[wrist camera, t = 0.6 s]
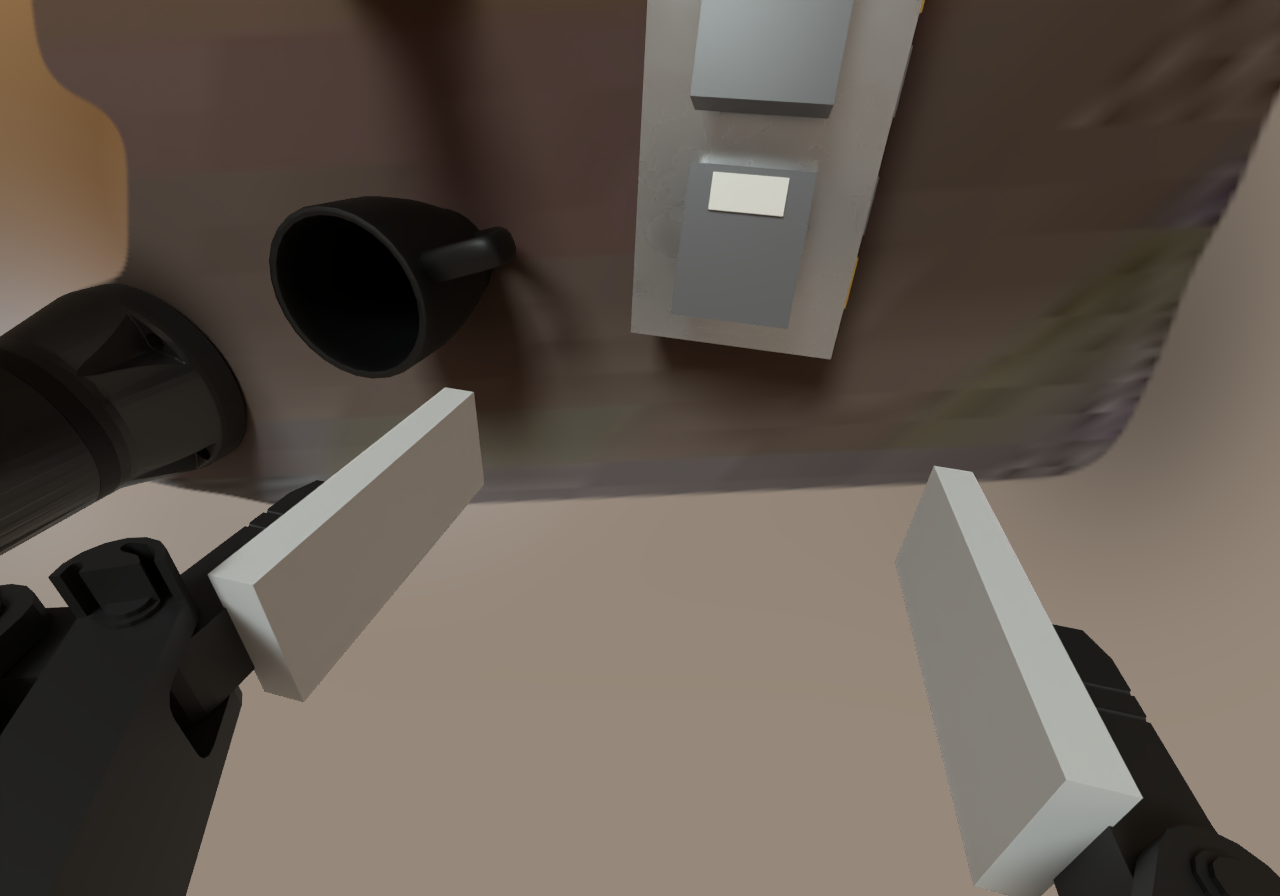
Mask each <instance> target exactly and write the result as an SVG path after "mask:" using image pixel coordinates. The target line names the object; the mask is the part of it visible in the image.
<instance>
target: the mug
mask: <svg viewBox="0 0 1280 896" xmlns="http://www.w3.org/2000/svg"><path fill="white" fill-rule="evenodd" d="M515 257H516V246H515V242H514V240H513V238H512V236H511V234H510V233H509V231H508V230H507V229H505V228H502V227H494V228H489V229H486V230H482V231H479V230H478V229H477V227H476V226H475V225H474V224H473V223H472V222H470V221H469V220H468V219H467V218H466V217H464V216H462V215H461V214H459V213H457V212H455V211H452V210H449V209H443V208H440V207H436V206H433V205H430V204H427V203H423V202H419V201H414V200H409V199H400V198H391V197H381V196H364V197H358V198H352V199H346V200H340V201H334V202H329V203H323V204H318V205H313V206H307V207H303V208H301V209H299V210H298V211H296V212H294V213H292V214H290V215H289V216H288V217H287V218H286V219H285V220H284V222H283V223H282V224H281V225H280V226H279V227H278V229H277V231H276V233H275V236H274V238H273V240H272V243H271V250H270V258H269V264H270V275H271V281H272V285H273V288H274V292H275V295H276V298H277V300H278V302H279V305H280V307H281V309H282V311H283V313H284V315H285V317H286V318H287V320H288V321H289V323H290V324H291V326H292V327H293V329H294V330H295V332H296V333H297V334H298V335H299V336H300V338H301V339H302V340H303V341H304V342H305V343H306V344H307V345H308V346H309V348H311V349H312V350H313V351H314V352H315V353H317V354H318V355H319V356H320V357H321V358H323V359H324V360H325V361H327V362H329V363H330V364H332V365H334V366H335V367H337V368H339V369H340V370H343V371H346V372H348V373H351V374H353V375H356V376H361V377H367V378H386V377H391V376H394V375H397V374H400V373H403V372H404V371H406V370H407V369H409V368H411V367H412V366H414V365H415V364H417V363H418V362H420V361H421V360H423V359H424V358H426V357H427V356H428V355H430V354H431V353H433V352H434V351H436V350H437V349H438V348H440V347H441V346H442V345H444V344H445V343H446V342H447V341H448V340H449V339H450V338H451V337H452V336H453V335H454V334H455V333H456V332H457V331H458V330H459V329H460V327H461V326H462V325H463V324H464V322H465V321H466V319H467V318H468V317H469V315H470V314H471V312H472V311H473V309H474V308H475V306H476V305H477V303H478V301H479V299H480V297H481V295H482V293H483V291H484V290H485V288H486V287H487V285H488V282H489V280H490V276H491V269H493V268H497V267H500V266H502V265H505V264H507V263H509V262H511V261H512V260H513V259H514V258H515Z"/></svg>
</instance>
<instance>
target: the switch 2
mask: <svg viewBox="0 0 1280 896" xmlns="http://www.w3.org/2000/svg"><path fill="white" fill-rule="evenodd" d="M816 176H817V172H806V171H794V170H782V169H769V168H757V167H745V166H733V165H721V164H709V163H696V162H690V166H689V174H688V182H687V190H686V198H685V206H684V214H683V221H682V229H681V237H680V245H679V253H678V261H677V269H676V277H675V284H674V292H673V300H672V308H671V314H675V315H682V316H690V317H698V318H706V319H713V320H721V321H729V322H737V323H745V324H752V325H760V326H768V327H776V328H783V329H788V325H789V319H790V314H791V309H792V303H793V298H794V293H795V288H796V282H797V277H798V272H799V266H800V261H801V256H802V251H803V245H804V240H805V235H806V229H807V224H808V219H809V213H810V208H811V203H812V198H813V192H814V187H815V182H816Z"/></svg>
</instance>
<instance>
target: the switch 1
mask: <svg viewBox="0 0 1280 896" xmlns="http://www.w3.org/2000/svg"><path fill="white" fill-rule="evenodd" d="M853 1H854V0H702V2H701V10H700V19H699V27H698V35H697V43H696V51H695V59H694V67H693V75H692V84H691V92H690V97H691V100H692V103H693V106H694V109H695V110H704V111H719V112H734V113H749V114H764V115H779V116H794V117H810V118H825V119H828V118H829V115H830V113H831V110H832V108H833V105H834V101H835V96H836V90H837V85H838V80H839V75H840V69H841V64H842V59H843V54H844V48H845V43H846V38H847V33H848V27H849V22H850V17H851V12H852V6H853Z"/></svg>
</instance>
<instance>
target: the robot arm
mask: <svg viewBox="0 0 1280 896" xmlns="http://www.w3.org/2000/svg"><path fill="white" fill-rule="evenodd" d="M245 425H246V415H245V408H244V403H243V399H242V396H241V393H240V390H239V388H238V385H237V383H236V381H235V379H234V377H233V375H232V373H231V371H230V369H229V368H228V366H227V364H226V363H225V361H224V360H223V358H222V357H221V355H220V354H219V353H218V351H217V350H216V349H215V347H214V346H213V345H212V344H211V343H210V341H209V340H208V339H207V338H206V337H205V336H204V335H203V334H202V333H201V332H200V331H199V330H198V329H197V328H196V327H195V326H194V325H193V324H192V323H191V322H190V321H189V320H188V319H186V318H185V317H184V316H183V315H182V314H180V313H179V312H178V311H176V310H175V309H174V308H172V307H171V306H169V305H168V304H166V303H165V302H163V301H161V300H160V299H158V298H156V297H154V296H152V295H150V294H148V293H146V292H143V291H141V290H138V289H135V288H132V287H128V286H124V285H117V284H104V285H99V286H95V287H91V288H87V289H82V290H78V291H74V292H71V293H68V294H66V295H63V296H61V297H59V298H57V299H56V300H54V301H53V302H51V303H50V304H48V305H47V306H45V307H44V308H42V309H41V310H39V311H38V312H36V313H35V314H33V315H32V316H30V317H29V318H27V319H26V320H24V321H23V322H21V323H20V324H18V325H17V326H15V327H14V328H12V329H11V330H9V331H8V332H6V333H5V334H3V335H2V336H0V555H2V554H4V553H6V552H7V551H9V550H11V549H13V548H15V547H16V546H18V545H20V544H22V543H24V542H25V541H27V540H29V539H31V538H32V537H34V536H36V535H38V534H39V533H41V532H43V531H45V530H47V529H48V528H50V527H52V526H54V525H55V524H57V523H59V522H61V521H62V520H64V519H66V518H68V517H70V516H71V515H73V514H75V513H77V512H79V511H80V510H82V509H84V508H86V507H87V506H89V505H91V504H93V503H94V502H96V501H98V500H100V499H102V498H103V497H105V496H107V495H109V494H111V493H113V492H114V491H116V490H118V489H120V488H123V487H127V486H130V485H135V484H138V483H143V482H147V481H151V480H155V479H159V478H164V477H168V476H172V475H176V474H180V473H184V472H188V471H192V470H196V469H200V468H203V467H205V466H208V465H210V464H212V463H213V462H215V461H217V460H218V459H220V458H222V457H223V456H225V455H227V454H228V453H230V452H232V451H233V450H234V449H235V448H236V447H237V446H238V445H239V444H240V442H241V440H242V438H243V435H244V432H245ZM483 485H484V477H483V468H482V459H481V450H480V442H479V433H478V424H477V415H476V406H475V397H474V392H471V391H465V390H458V389H452V388H446V387H445V388H444V389H442V390H441V391H440V392H439V393H437V394H436V395H435V396H434V397H432V398H431V399H430V400H428V401H427V402H426V403H425V404H423V405H422V406H421V407H420V408H418V409H417V410H416V411H414V412H413V413H412V414H411V415H409V416H408V417H407V418H406V419H404V420H403V421H402V422H401V423H399V424H398V425H397V426H395V427H394V428H393V429H392V430H390V431H389V432H388V433H387V434H385V435H384V436H383V437H381V438H380V439H379V440H378V441H376V442H375V443H374V444H373V445H371V446H370V447H369V448H367V449H366V450H365V451H364V452H362V453H361V454H360V455H359V456H357V457H356V458H355V459H353V460H352V461H351V462H350V463H348V464H347V465H346V466H345V467H343V468H342V469H341V470H339V471H338V472H337V473H336V474H334V475H333V476H332V477H331V478H329V479H328V480H327V481H326V482H324V481H319V480H317V481H314V482H312V483H310V484H308V485H306V486H303V487H301V488H299V489H297V490H295V491H292V492H290V493H289V494H287V495H286V496H285V497H283V498H282V499H281V500H279V501H278V502H277V503H275V504H274V505H273V506H271V507H270V508H269V509H268V511H267V513H262V514H261V515H259V516H258V517H257V518H255V519H254V520H253V521H251V522H250V525H249V526H248V527H246V526H245V527H244V528H242V529H241V530H239V531H238V532H237V533H235V534H234V535H233V536H231V537H230V538H229V539H227V540H226V541H225V542H224V543H222V544H221V545H219V546H218V547H217V548H215V549H214V550H213V551H211V552H210V553H209V554H207V555H206V556H205V557H204V558H202V559H201V560H199V561H198V562H197V563H196V564H194V565H193V566H192V567H190V568H189V569H188V570H186V571H185V572H184V573H182V574H181V575H180V574H179V572H178V570H177V568H176V566H175V564H174V562H173V560H172V559H171V557H170V555H169V553H168V551H167V549H166V548H165V546H164V545H163V544H162V543H161V542H160V541H158V540H154V539H151V538H147V537H143V538H126V539H121V540H117V541H112V542H108V543H104V544H102V545H99V546H97V547H94V548H92V549H89V550H87V551H84V552H82V553H80V554H79V555H77V556H75V557H73V558H72V559H70V560H68V561H67V562H65V563H63V564H62V565H61V566H60V567H59V568H58V569H56V570H55V571H54V573H52V574H51V575H50V576H49V579H50V581H51V582H52V583H53V585H54V586H55V587H56V589H57V591H58V592H59V593H60V595H61V596H62V598H63V599H64V601H65V602H66V603H67V605H68V606H69V607H60V608H45V607H44V606H43V604H42V603H41V601H40V600H39V599H38V597H37V596H36V595H35V593H34V592H33V591H32V590H30V589H29V588H28V587H27V586H22V585H15V584H8V585H0V896H186V893H187V889H188V886H189V882H190V879H191V875H192V872H193V869H194V865H195V862H196V859H197V855H198V852H199V849H200V845H201V842H202V838H203V835H204V832H205V828H206V825H207V821H208V818H209V815H210V811H211V808H212V804H213V801H214V798H215V794H216V791H217V787H218V784H219V780H220V777H221V774H222V770H223V767H224V763H225V760H226V757H227V753H228V750H229V746H230V743H231V739H232V736H233V733H234V729H235V726H236V723H237V719H238V716H239V712H240V709H241V706H242V692H241V690H240V688H239V686H238V685H239V684H240V683H241V682H242V681H243V680H244V679H245V678H246V677H247V676H248V675H249V674H250V673H251V672H252V671H253V670H254V671H255V673H256V675H257V676H258V679H259V681H260V683H261V685H262V687H263V689H264V691H265V692H269V693H272V694H276V695H279V696H283V697H287V698H290V699H294V700H298V701H301V702H304V701H305V700H306V699H307V698H308V696H309V695H310V694H311V693H312V691H313V690H314V689H315V688H316V687H317V685H318V684H319V683H320V682H321V681H322V679H323V678H324V677H325V676H326V674H327V673H328V672H329V671H330V670H331V669H332V667H333V666H334V665H335V664H336V663H337V661H338V660H339V659H340V658H341V656H342V655H343V654H344V653H345V652H346V650H347V649H348V648H349V647H350V646H351V644H352V643H353V642H354V641H355V639H356V638H357V637H358V636H359V635H360V634H361V632H362V631H363V630H364V629H365V628H366V626H367V625H368V624H369V623H370V621H371V620H372V619H373V618H374V617H375V615H376V614H377V613H378V612H379V610H380V609H381V608H382V607H383V606H384V604H385V603H386V602H387V601H388V600H389V599H390V597H391V596H392V595H393V594H394V592H395V591H396V590H397V589H398V588H399V586H400V585H401V584H402V583H403V582H404V580H405V579H406V578H407V577H408V576H409V574H410V573H411V572H412V571H413V570H414V568H415V567H416V566H417V565H418V564H419V562H420V561H421V560H422V559H423V557H424V556H425V555H426V554H427V553H428V551H429V550H430V549H431V548H432V547H433V545H434V544H435V543H436V542H437V540H438V539H439V538H440V537H441V536H442V535H443V533H444V532H445V531H446V530H447V528H448V527H449V526H450V525H451V523H452V522H453V521H454V520H455V519H456V518H457V516H458V515H459V514H460V513H461V512H462V510H463V509H464V508H465V507H466V506H467V504H468V503H469V502H470V501H471V500H472V498H473V497H474V496H475V495H476V494H477V492H478V491H479V490H480V489H481V487H482V486H483ZM895 564H896V568H897V572H898V576H899V580H900V584H901V589H902V593H903V597H904V601H905V605H906V609H907V613H908V618H909V621H910V626H911V630H912V634H913V638H914V642H915V646H916V650H917V655H918V659H919V663H920V667H921V671H922V675H923V679H924V683H925V687H926V691H927V696H928V699H929V703H930V708H931V712H932V716H933V720H934V725H935V729H936V733H937V737H938V741H939V745H940V749H941V753H942V758H943V762H944V766H945V770H946V774H947V778H948V782H949V786H950V791H951V795H952V799H953V803H954V807H955V811H956V815H957V819H958V824H959V827H960V832H961V836H962V840H963V844H964V848H965V852H966V856H967V861H968V865H969V869H970V873H971V877H972V881H973V885H974V886H975V887H979V888H983V889H986V890H990V891H994V892H998V893H1001V894H1005V895H1008V896H1041V895H1042V894H1043V893H1044V892H1046V891H1047V890H1048V888H1050V887H1051V886H1052V885H1053V884H1054V883H1055V886H1056V889H1057V892H1058V895H1059V896H1280V877H1279V876H1278V875H1277V874H1276V873H1275V872H1274V871H1273V870H1272V869H1271V868H1270V867H1269V866H1267V865H1266V864H1265V863H1263V862H1262V861H1261V860H1259V859H1258V858H1257V857H1255V856H1254V855H1252V854H1251V853H1250V852H1248V851H1247V850H1246V849H1244V848H1243V847H1241V846H1240V845H1239V844H1237V843H1235V842H1233V841H1231V840H1229V839H1227V838H1225V837H1223V836H1221V835H1219V834H1218V833H1217V832H1216V831H1215V829H1214V828H1213V826H1212V825H1211V823H1210V821H1209V820H1208V818H1207V816H1206V815H1205V813H1204V811H1203V810H1202V808H1201V806H1200V805H1199V803H1198V802H1197V800H1196V798H1195V797H1194V795H1193V793H1192V791H1191V790H1190V788H1189V786H1188V785H1187V783H1186V781H1185V780H1184V778H1183V776H1182V775H1181V773H1180V772H1179V770H1178V768H1177V767H1176V765H1175V763H1174V761H1173V760H1172V758H1171V756H1170V755H1169V753H1168V752H1167V750H1166V748H1165V747H1164V745H1163V743H1162V741H1161V740H1160V738H1159V737H1158V735H1157V733H1156V731H1155V730H1154V728H1153V726H1152V725H1151V723H1148V722H1146V715H1145V713H1144V712H1143V710H1142V708H1141V706H1140V705H1139V703H1138V701H1137V700H1136V698H1135V697H1134V696H1131V695H1130V691H1131V690H1130V688H1129V686H1128V685H1127V683H1126V681H1125V680H1124V678H1123V677H1122V675H1121V673H1120V672H1119V670H1118V668H1117V667H1116V665H1115V663H1114V662H1113V660H1112V659H1111V658H1110V657H1109V656H1108V655H1107V654H1106V653H1105V652H1104V651H1103V650H1102V649H1101V648H1100V647H1099V646H1098V645H1097V644H1096V643H1095V642H1094V641H1093V640H1092V639H1091V638H1090V637H1089V636H1088V635H1087V634H1086V633H1085V632H1084V631H1082V630H1078V629H1073V628H1068V627H1063V626H1058V625H1053V624H1052V623H1051V621H1050V619H1049V617H1048V616H1047V614H1046V612H1045V610H1044V608H1043V606H1042V604H1041V602H1040V600H1039V598H1038V597H1037V595H1036V593H1035V591H1034V589H1033V587H1032V585H1031V583H1030V581H1029V579H1028V577H1027V575H1026V574H1025V572H1024V570H1023V568H1022V566H1021V564H1020V562H1019V560H1018V558H1017V556H1016V554H1015V552H1014V551H1013V549H1012V547H1011V545H1010V543H1009V541H1008V539H1007V537H1006V535H1005V533H1004V531H1003V530H1002V528H1001V526H1000V524H999V522H998V520H997V518H996V516H995V514H994V513H993V510H992V509H991V507H990V505H989V503H988V501H987V499H986V497H985V495H984V493H983V491H982V489H981V487H980V486H979V484H978V482H977V480H976V478H975V476H974V474H973V472H969V471H962V470H956V469H950V468H944V467H938V466H934V467H933V469H932V472H931V474H930V477H929V479H928V482H927V484H926V487H925V489H924V492H923V494H922V497H921V499H920V502H919V504H918V506H917V509H916V511H915V514H914V516H913V519H912V521H911V524H910V526H909V529H908V531H907V534H906V536H905V539H904V541H903V543H902V546H901V548H900V551H899V553H898V556H897V558H896V561H895Z"/></svg>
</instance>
